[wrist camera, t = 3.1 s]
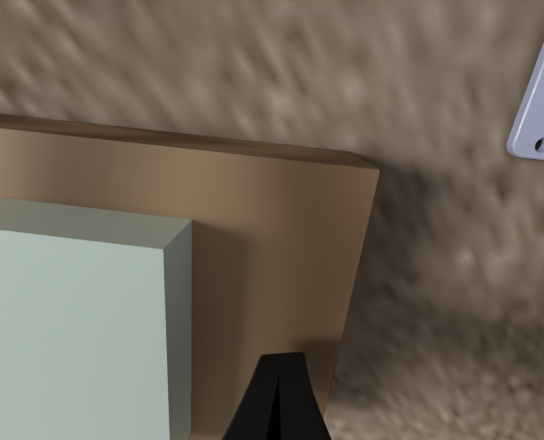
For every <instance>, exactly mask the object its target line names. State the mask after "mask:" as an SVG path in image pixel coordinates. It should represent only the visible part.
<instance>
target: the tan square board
mask: <svg viewBox="0 0 544 440" xmlns="http://www.w3.org/2000/svg"><path fill="white" fill-rule="evenodd" d="M379 173H380V170H379V169H378V168H376V167H375V166H373V165H371V164H370V163H368V162H366V161H365V160H363V159H362V158H360V157H358V156H357V155H355V154H354V153H352V152H347V151H338V150H329V149H320V148H311V147H301V146H292V145H283V144H274V143H265V142H255V141H246V140H237V139H228V138H218V137H209V136H200V135H191V134H182V133H172V132H163V131H154V130H145V129H135V128H126V127H117V126H108V125H99V124H89V123H80V122H71V121H62V120H52V119H43V118H34V117H25V116H16V115H6V114H0V197H2V198H11V199H20V200H28V201H37V202H46V203H54V204H63V205H71V206H80V207H89V208H97V209H106V210H114V211H123V212H132V213H140V214H149V215H158V216H166V217H175V218H183V219H192V312H191V433H190V436H189V439H188V440H221V439H222V438H223V436H224V434H225V432H226V430H227V428H228V426H229V425H230V423H231V421H232V418H233V416H234V414H235V412H236V410H237V408H238V406H239V404H240V402H241V400H242V398H243V396H244V394H245V391H246V389H247V387H248V385H249V382H250V380H251V378H252V375H253V373H254V370H255V368H256V365H257V362H258V360H259V357H260V356H261V355H262V354H276V353H289V352H303V353H304V354H305V356H306V362H307V369H308V375H309V379H310V382H311V386H312V389H313V392H314V395H315V398H316V401H317V404H318V407H319V409H320V412H321V415H322V417H323V418H324V413H325V409H326V405H327V400H328V396H329V391H330V387H331V383H332V378H333V374H334V370H335V365H336V361H337V357H338V352H339V348H340V343H341V339H342V335H343V330H344V326H345V322H346V317H347V313H348V308H349V304H350V300H351V295H352V291H353V287H354V282H355V278H356V274H357V269H358V265H359V260H360V256H361V252H362V247H363V243H364V239H365V234H366V230H367V226H368V221H369V217H370V212H371V208H372V204H373V199H374V195H375V191H376V186H377V182H378V178H379Z"/></svg>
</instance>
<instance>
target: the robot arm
mask: <svg viewBox="0 0 544 440" xmlns="http://www.w3.org/2000/svg"><path fill="white" fill-rule="evenodd" d="M539 139H541V140H542V145H541V146H540V148H539V149H537V150H535V144H536V142H537V141H538V140H539ZM507 150H508V152H509V153H510V154H511V155H513V156H516V157H521V158H530V159H539V160H544V43H543V46H542V49H541V51H540V54H539V57H538V60H537V62H536V65H535V68H534V70H533V73H532V76H531V79H530V81H529V84H528V87H527V89H526V92H525V95H524V98H523V100H522V103H521V106H520V108H519V111H518V114H517V117H516V119H515V122H514V125H513V127H512V130H511V133H510V136H509V138H508V141H507ZM221 440H331V437H330V435H329V432H328V430H327V428H326V425H325V423H324V420H323V417H322V415H321V412H320V409H319V407H318V404H317V401H316V398H315V395H314V392H313V389H312V386H311V382H310V379H309V375H308V369H307V362H306V356H305V354H304V353H303V352H289V353H276V354H262V355H261V356H260V357H259V360H258V362H257V365H256V368H255V370H254V373H253V375H252V378H251V380H250V382H249V385H248V387H247V389H246V391H245V394H244V396H243V398H242V400H241V402H240V404H239V406H238V408H237V410H236V412H235V414H234V416H233V418H232V421H231V423H230V425H229V426H228V428H227V430H226V432H225V434H224V436H223V438H222V439H221Z"/></svg>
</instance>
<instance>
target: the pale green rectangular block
mask: <svg viewBox="0 0 544 440" xmlns="http://www.w3.org/2000/svg"><path fill="white" fill-rule="evenodd" d="M191 312H192V219H183V218H175V217H166V216H158V215H149V214H140V213H132V212H123V211H114V210H106V209H97V208H89V207H80V206H71V205H63V204H54V203H46V202H37V201H28V200H20V199H11V198H2V197H0V440H188V439H189V436H190V433H191Z"/></svg>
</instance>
